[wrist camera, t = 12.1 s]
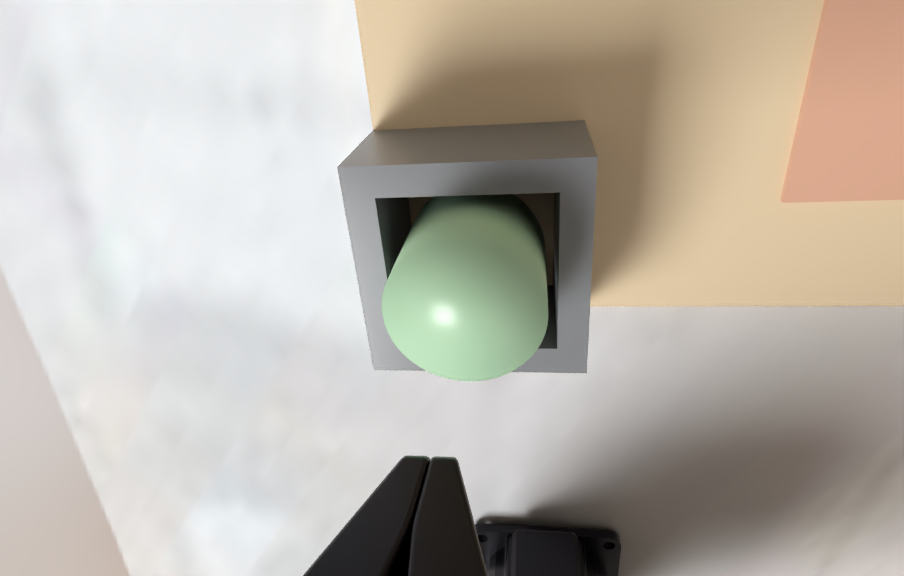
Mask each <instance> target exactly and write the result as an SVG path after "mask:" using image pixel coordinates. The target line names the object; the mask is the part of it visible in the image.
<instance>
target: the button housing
mask: <svg viewBox="0 0 904 576" xmlns="http://www.w3.org/2000/svg"><path fill="white" fill-rule="evenodd" d="M597 161H598V156H597V154H596V151H595V148H594V145H593V142H592V140H591V137H590V134H589V131H588V128H587V126H586V123H585V120H578V121H557V122H537V123H516V124H496V125H475V126H454V127H434V128H413V129H392V130H373V131H372V132H371V133H370V134H369V135H368V136H367V137H366V138H365V139H364V140H363V141H362V142H361V143H360V145H359V146H358V147H357V148H356V149H355V150H354V151H353V152H352V153H351V154H350V155H349V156H348V157H347V158H346V159H345V160H344V161H343V162H342V163H341V164H340V165H339V166H338V167H337V168H338V174H339V179H340V185H341V190H342V196H343V201H344V207H345V212H346V218H347V224H348V229H349V235H350V240H351V246H352V251H353V257H354V262H355V268H356V273H357V279H358V285H359V290H360V296H361V301H362V307H363V312H364V318H365V323H366V329H367V335H368V340H369V346H370V351H371V357H372V362H373V368H374V370H418V371H426V370H424V369H422V368H420V367H419V366H417V365H416V364H414V363H413V362H412V361H410V360H409V359H408V358H407V357H406V356H405V355H404V354H403V353H402V352H401V351H400V350H399V349H398V348H397V346H396V345H395V344H394V342H393V341H392V339H391V337H390V336H389V334H388V332H387V329H386V327H385V324H384V320H383V316H382V296H383V291H384V287H385V285H386V282H387V280H388V277H389V275H390V273H391V271H392V269H393V266H394V264H395V262H396V260H397V258H398V256H399V254H400V251H401V249H402V247H403V245H404V243H405V241H406V238H407V236H408V234H409V232H410V230H411V228H412V223H411V215H410V207H409V199H408V197H432V196H465V195H498V194H530V193H554V237H553V285H547V297H548V325H547V329H546V333H545V336H544V338H543V340H542V343H541V344H540V346H539V347H538V349H537V351H536V352H535V353H534V354H533V355H532V357H531V358H530V359H528V360H527V361H526V362H525V363H524V364H523V365H521V366H520V367H518V368H517V369H515V370H513V371H511V372H552V373H587V355H588V336H589V316H590V297H591V278H592V258H593V239H594V219H595V200H596V180H597Z"/></svg>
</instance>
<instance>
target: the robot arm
mask: <svg viewBox="0 0 904 576" xmlns="http://www.w3.org/2000/svg"><path fill="white" fill-rule="evenodd" d="M620 551H621V544H620V538H619V535H618V534H617V533H616V532H614V531H610V530H594V529H576V528H557V527H539V526H520V525H502V524H483V523H482V524H476V525H475V524H474V520H473V516H472V513H471V509H470V505H469V501H468V497H467V494H466V490H465V486H464V482H463V478H462V475H461V471H460V467H459V463H458V460H457V459H456V458H454V457H433V458H432V459H431V460H430V458H429V457H427V456H405V457H403V458H402V459H401V460H400V461H399V462H398V463H397V465H396V466H395V467H394V468H393V469H392V470H391V472H390V473H389V474H388V475H387V476H386V478H385V479H384V480H383V481H382V482H381V484H380V485H379V486H378V487H377V488H376V490H375V491H374V492H373V493H372V494H371V495H370V497H369V498H368V499H367V500H366V501H365V503H364V504H363V505H362V506H361V507H360V509H359V510H358V511H357V512H356V513H355V515H354V516H353V517H352V518H351V519H350V520H349V522H348V523H347V524H346V525H345V526H344V528H343V529H342V530H341V531H340V532H339V534H338V535H337V536H336V537H335V538H334V540H333V541H332V542H331V543H330V544H329V545H328V547H327V548H326V549H325V550H324V551H323V553H322V554H321V555H320V556H319V557H318V559H317V560H316V561H315V562H314V563H313V564H312V566H311V567H310V568H309V569H308V570H307V572H306V573H305V574H304V575H303V576H618V569H619V560H620Z"/></svg>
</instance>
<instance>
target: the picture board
mask: <svg viewBox="0 0 904 576" xmlns="http://www.w3.org/2000/svg"><path fill="white" fill-rule="evenodd" d="M355 6H356V13H357V20H358V27H359V34H360V41H361V48H362V55H363V62H364V69H365V76H366V83H367V90H368V97H369V104H370V111H371V118H372V125H373V130H392V129H413V128H434V127H454V126H475V125H496V124H516V123H537V122H557V121H578V120H585V123H586V126H587V128H588V131H589V134H590V137H591V140H592V142H593V145H594V148H595V151H596V154H597V156H598V161H597V180H596V200H595V219H594V239H593V258H592V278H591V297H590V306H904V0H355ZM513 195H515V196H517V197H518V198H519V199H521V200H522V201H523V202H524V203H525V204H526V205H527V206H528V207H529V208H530V209H531V210H532V212H533V213H534V214H535V216H536V218H537V219H538V221H539V223H540V226H541V228H542V231H543V235H544V241H545V258H546V277H547V285H553V237H554V193H530V194H513ZM433 197H435V196H432V197H408V199H409V207H410V215H411V223H412V225H413V223H414V221H415V219H416V217H417V215H418V214H419V212H420V211H421V209H422V208H423V207H424V206H425V204H426V203H428V202H429V201H430V200H431V199H432V198H433Z"/></svg>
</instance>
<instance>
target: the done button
mask: <svg viewBox="0 0 904 576" xmlns="http://www.w3.org/2000/svg"><path fill="white" fill-rule="evenodd" d="M382 316H383V320H384V324H385V327H386V329H387V332H388V334H389V336H390V337H391V339H392V341H393V342H394V344H395V345H396V346H397V348H398V349H399V350H400V351H401V352H402V353H403V354H404V355H405V356H406V357H407V358H408V359H409V360H410V361H412V362H413V363H414V364H416V365H417V366H419V367H420V368H422V369H424V370H426V371H428V372H430V373H433V374H435V375H438V376H441V377H444V378H448V379H453V380H459V381H481V380H488V379H492V378H496V377H500V376H502V375H505V374H508V373H509V372H511V371H513V370H515V369H517V368H518V367H520V366H521V365H523V364H524V363H525V362H526V361H527V360H528V359H530V358H531V357H532V355H533V354H534V353H535V352H536V351H537V349H538V347H539V346H540V344H541V343H542V340H543V338H544V336H545V333H546V329H547V325H548V297H547V277H546V258H545V241H544V235H543V231H542V228H541V226H540V223H539V221H538V219H537V218H536V216H535V214H534V213H533V212H532V210H531V209H530V208H529V207H528V206H527V205H526V204H525V203H524V202H523V201H522V200H521V199H519V198H518V197H517V196H515V195H513V194H498V195H465V196H435V197H433V198H432V199H431V200H430V201H429V202H428V203H426V204H425V206H424V207H423V208H422V209H421V211H420V212H419V214H418V215H417V217H416V219H415V221H414V223H413V225H412V228H411V230H410V232H409V234H408V236H407V238H406V241H405V243H404V245H403V247H402V249H401V251H400V254H399V256H398V258H397V260H396V262H395V264H394V266H393V269H392V271H391V273H390V275H389V277H388V280H387V282H386V285H385V287H384V291H383V296H382Z"/></svg>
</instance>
